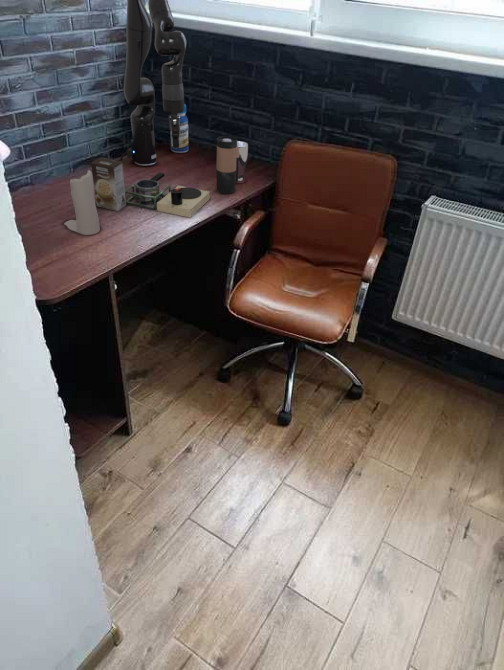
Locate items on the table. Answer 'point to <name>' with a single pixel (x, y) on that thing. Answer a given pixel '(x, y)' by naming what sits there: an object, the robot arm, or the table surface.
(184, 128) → the beverage bottle
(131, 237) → the table surface
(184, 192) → the burner
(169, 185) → the dish rack
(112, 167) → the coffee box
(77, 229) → the candle
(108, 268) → the table surface
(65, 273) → the table surface
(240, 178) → the beer glass
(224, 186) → the travel mug
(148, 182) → the saucepan
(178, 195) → the dial
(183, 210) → the plate
